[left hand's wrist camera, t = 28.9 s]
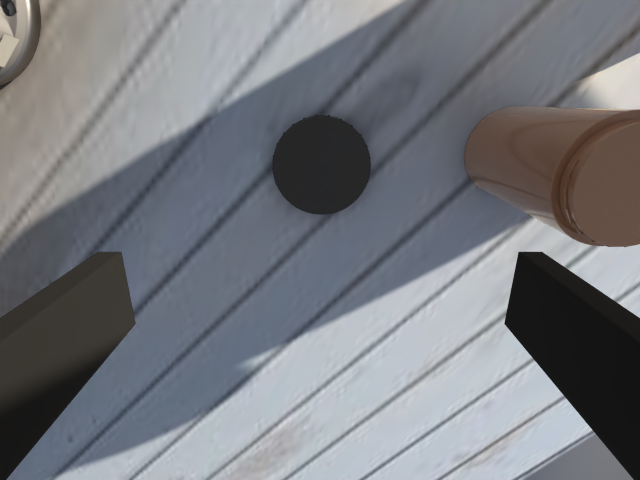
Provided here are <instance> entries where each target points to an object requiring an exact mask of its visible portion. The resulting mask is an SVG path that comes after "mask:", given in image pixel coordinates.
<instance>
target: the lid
mask: <svg viewBox="0 0 640 480" xmlns="http://www.w3.org/2000/svg"><path fill="white" fill-rule="evenodd" d="M273 174H274V178H275V181H276V184H277V186H278V188H279V190H280V192H281V193H282V195H283V196H284V197H285V198H286V200H288V201H289V202H290V203H291V204H292V205H294V206H295V207H297V208H298V209H300V210H303V211H305V212H308V213H312V214H331V213H335V212H338V211H340V210H343V209H345V208H346V207H348V206H349V205H351V204H352V203H353V202H354V201H355V200H357V199H358V197H359V196H360V195H361V194H362V192H363V190H364V189H365V187H366V184H367V182H368V179H369V174H370V156H369V152H368V149H367V145H366V144H365V142H364V140H363V138H362V137H361V134H359V133H358V132H357V131H356V130H355V129H354V128H353V126H352V125H351V126H350V125H349V124H348V123H346V122H344V121H343V120H342V119H338V118H335V117H331V116H329V115H328V116H317V115H316V116H312V117H309V118H303V120H301V121H299V122H297V123H296V124H293V125H292V127H290V128H289V129H288V130H287V131H286V132H284V133H283V136H282V137H281V139H280V140H279V142H278V143H277V146H276V149H275V152H274V156H273Z"/></svg>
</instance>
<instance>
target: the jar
mask: <svg viewBox="0 0 640 480" xmlns="http://www.w3.org/2000/svg"><path fill="white" fill-rule="evenodd" d="M464 163H465V168H466V171H467V174H468V175H469V177H470V179H471V180H472V182H473V183H474V184H475V185H476V186H478V187H479V188H480V189H482V190H484V191H486V192H488V193H490V194H491V195H493V196H495V197H497V198H499V199H501V200H503V201H504V202H506V203H508V204H510V205H512V206H514V207H515V208H517V209H519V210H521V211H523V212H525V213H527V214H528V215H530V216H532V217H534V218H536V219H538V220H539V221H541V222H543V223H545V224H547V225H549V226H551V227H552V228H554V229H556V230H558V231H560V232H562V233H563V234H565V235H567V236H569V237H571V238H573V239H575V240H577V241H578V242H581V243H584V244H588V245H593V246H608V247H627V246H633V245H638V244H640V109H600V108H560V107H519V106H514V107H506V108H502V109H499V110H497V111H494V112H492V113H491V114H489V115H488V116H486V117H485V118H484V119H482V120H481V121H480V122H479V123H478V124H477V126H476V127H475V128H474V129H473V131H472V133H471V134H470V136H469V138H468V141H467V144H466V147H465V153H464Z"/></svg>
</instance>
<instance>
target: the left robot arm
mask: <svg viewBox="0 0 640 480" xmlns="http://www.w3.org/2000/svg"><path fill="white" fill-rule="evenodd" d="M40 27H41V15H40V6H39V0H0V86H2V85H4V84H6V83H8V82H10V81H12V80H13V79H15V78H16V77H17V76H19V75H20V74H21V73H22V72H23V71H24V70H25V68H26V67H27V66H28V65H29V63H30V61H31V60H32V58H33V56H34V53H35V51H36V48H37V45H38V41H39V36H40ZM134 325H135V319H134V313H133V308H132V303H131V298H130V293H129V288H128V283H127V278H126V273H125V268H124V263H123V258H122V253H121V252H97V253H96V254H94V255H93V256H91V257H90V258H88V259H87V260H85V261H84V262H82V263H81V264H80V265H78V266H77V267H75V268H74V269H72V270H71V271H69V272H68V273H66V274H65V275H63V276H62V277H60V278H59V279H57V280H56V281H54V282H53V283H51V284H50V285H49V286H47V287H46V288H44V289H43V290H41V291H40V292H38V293H37V294H35V295H34V296H32V297H31V298H29V299H28V300H26V301H25V302H23V303H22V304H20V305H19V306H18V307H16V308H15V309H13V310H12V311H10V312H9V313H7V314H6V315H4V316H3V317H1V318H0V480H6V479H7V478H8V477H9V476H10V474H11V473H12V472H13V471H14V470H15V468H16V467H17V466H18V465H19V463H20V462H21V461H22V460H23V459H24V457H25V456H26V455H27V454H28V453H29V451H30V450H31V449H32V448H33V447H34V445H35V444H36V443H37V442H38V441H39V439H40V438H41V437H42V436H43V435H44V433H45V432H46V431H47V430H48V429H49V427H50V426H51V425H52V424H53V423H54V421H55V420H56V419H57V418H58V417H59V415H60V414H61V413H62V412H63V411H64V409H65V408H66V407H67V406H68V404H69V403H70V402H71V401H72V400H73V398H74V397H75V396H76V395H77V394H78V392H79V391H80V390H81V389H82V388H83V386H84V385H85V384H86V383H87V382H88V380H89V379H90V378H91V377H92V376H93V374H94V373H95V372H96V371H97V370H98V368H99V367H100V366H101V365H102V364H103V362H104V361H105V360H106V359H107V358H108V356H109V355H110V354H111V353H112V351H113V350H114V349H115V348H116V347H117V345H118V344H119V343H120V342H121V341H122V339H123V338H124V337H125V336H126V335H127V333H128V332H129V331H130V330H131V329H132V327H133V326H134ZM505 325H506V326H507V327H508V329H509V330H510V331H511V332H512V333H513V335H514V336H515V337H516V338H517V339H518V341H519V342H520V343H521V344H522V345H523V347H524V348H525V349H526V350H527V351H528V353H529V354H530V355H531V356H532V358H533V359H534V360H535V361H536V362H537V364H538V365H539V366H540V367H541V368H542V370H543V371H544V372H545V373H546V374H547V376H548V377H549V378H550V379H551V380H552V382H553V383H554V384H555V385H556V386H557V388H558V389H559V390H560V391H561V392H562V394H563V395H564V396H565V397H566V398H567V400H568V401H569V402H570V403H571V404H572V406H573V407H574V408H575V409H576V411H577V412H578V413H579V414H580V415H581V417H582V418H583V419H584V420H585V421H586V423H587V424H588V425H589V426H590V427H591V429H592V430H593V431H594V432H595V433H596V435H597V436H598V437H599V438H600V439H601V441H602V442H603V443H604V444H605V445H606V447H607V448H608V449H609V450H610V451H611V453H612V454H613V455H614V456H615V457H616V459H617V460H618V461H619V462H620V463H621V465H622V466H623V467H624V468H625V470H626V471H627V472H628V473H629V474H630V476H631V477H632V478H633V479H634V480H640V318H639V317H637V316H636V315H634V314H633V313H631V312H630V311H628V310H627V309H625V308H624V307H622V306H621V305H620V304H618V303H617V302H615V301H614V300H612V299H611V298H609V297H608V296H606V295H605V294H603V293H602V292H600V291H599V290H597V289H596V288H594V287H593V286H591V285H590V284H589V283H587V282H586V281H584V280H583V279H581V278H580V277H578V276H577V275H575V274H574V273H572V272H571V271H569V270H568V269H566V268H565V267H563V266H562V265H560V264H559V263H558V262H556V261H555V260H553V259H552V258H550V257H549V256H547V255H546V254H544V253H543V252H519V253H518V258H517V263H516V268H515V273H514V278H513V283H512V288H511V293H510V298H509V303H508V308H507V313H506V318H505Z"/></svg>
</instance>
